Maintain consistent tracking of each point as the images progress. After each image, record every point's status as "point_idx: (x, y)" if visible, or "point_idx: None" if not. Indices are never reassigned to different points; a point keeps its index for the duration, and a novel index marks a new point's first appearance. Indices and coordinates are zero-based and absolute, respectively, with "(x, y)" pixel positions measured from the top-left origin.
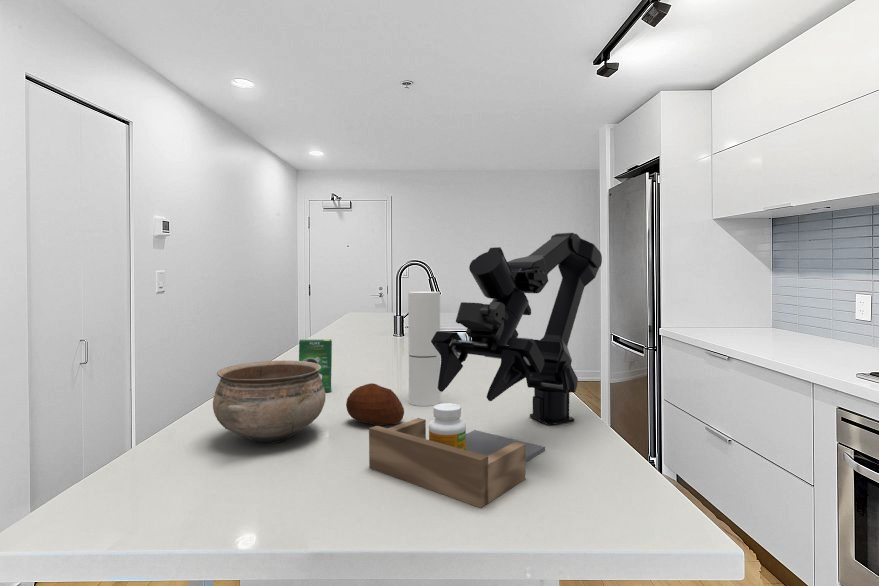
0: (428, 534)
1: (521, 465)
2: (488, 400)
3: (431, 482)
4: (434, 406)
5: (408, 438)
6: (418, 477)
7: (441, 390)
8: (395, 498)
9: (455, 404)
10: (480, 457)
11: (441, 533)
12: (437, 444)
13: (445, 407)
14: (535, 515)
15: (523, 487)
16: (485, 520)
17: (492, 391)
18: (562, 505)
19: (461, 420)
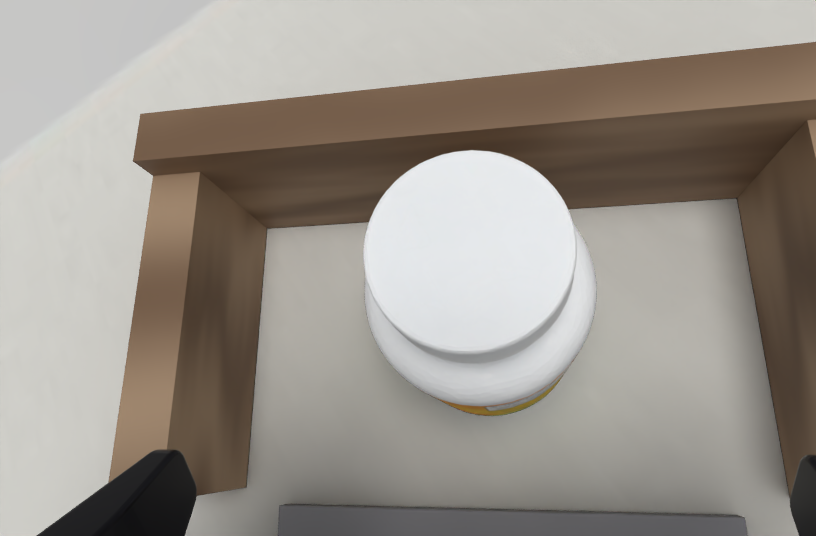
0: (274, 12)
1: None
2: (193, 480)
3: None
4: (542, 180)
5: (559, 78)
6: None
7: (795, 493)
8: (480, 67)
9: (456, 338)
10: (153, 132)
11: (251, 35)
12: (388, 118)
13: (458, 217)
14: (89, 263)
15: None
16: None
17: (98, 492)
18: (39, 372)
19: (413, 354)
